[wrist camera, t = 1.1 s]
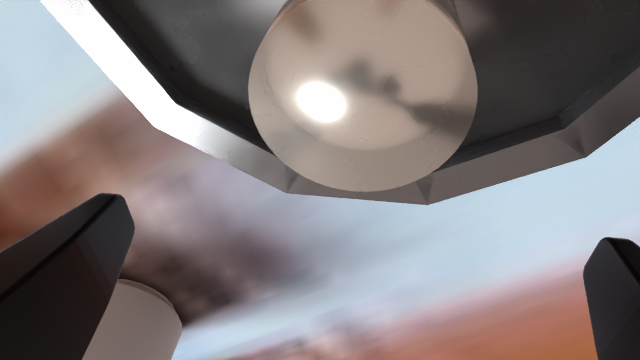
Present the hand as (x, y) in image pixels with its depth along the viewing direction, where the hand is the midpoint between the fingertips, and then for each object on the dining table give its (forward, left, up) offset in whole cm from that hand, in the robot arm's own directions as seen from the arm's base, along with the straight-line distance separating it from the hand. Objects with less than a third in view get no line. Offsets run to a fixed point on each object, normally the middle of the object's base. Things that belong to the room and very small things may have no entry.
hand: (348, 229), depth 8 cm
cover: (0, 0, -9) cm, 9 cm away
